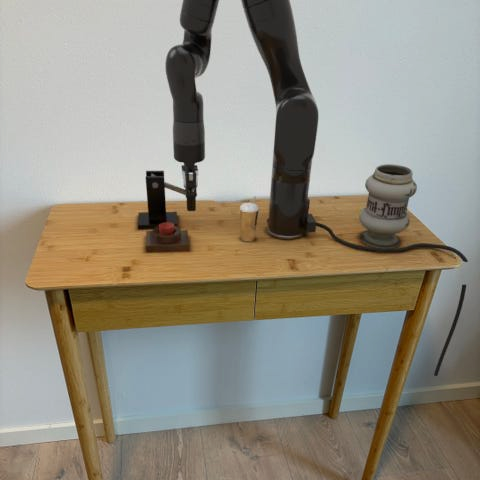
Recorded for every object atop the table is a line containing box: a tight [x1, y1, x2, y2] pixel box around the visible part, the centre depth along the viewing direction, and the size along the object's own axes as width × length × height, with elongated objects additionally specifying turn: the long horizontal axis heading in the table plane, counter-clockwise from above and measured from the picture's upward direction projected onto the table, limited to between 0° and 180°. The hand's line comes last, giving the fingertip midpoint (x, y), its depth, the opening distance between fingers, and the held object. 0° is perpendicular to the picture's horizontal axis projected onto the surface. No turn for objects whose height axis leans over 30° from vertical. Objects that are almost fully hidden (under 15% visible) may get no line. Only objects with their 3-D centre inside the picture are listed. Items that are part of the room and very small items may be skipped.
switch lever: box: [151, 173, 194, 196], centre depth 123 cm, size 12×5×2 cm, turn 97°
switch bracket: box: [137, 170, 179, 230], centre depth 124 cm, size 10×8×13 cm
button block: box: [145, 226, 190, 253], centre depth 117 cm, size 10×8×4 cm
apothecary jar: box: [358, 163, 418, 248], centre depth 119 cm, size 12×12×18 cm
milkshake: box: [239, 195, 260, 242], centre depth 120 cm, size 4×5×10 cm
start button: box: [159, 222, 175, 235], centre depth 116 cm, size 4×4×2 cm
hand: (190, 204), depth 126 cm, fingers open, 8 cm apart
